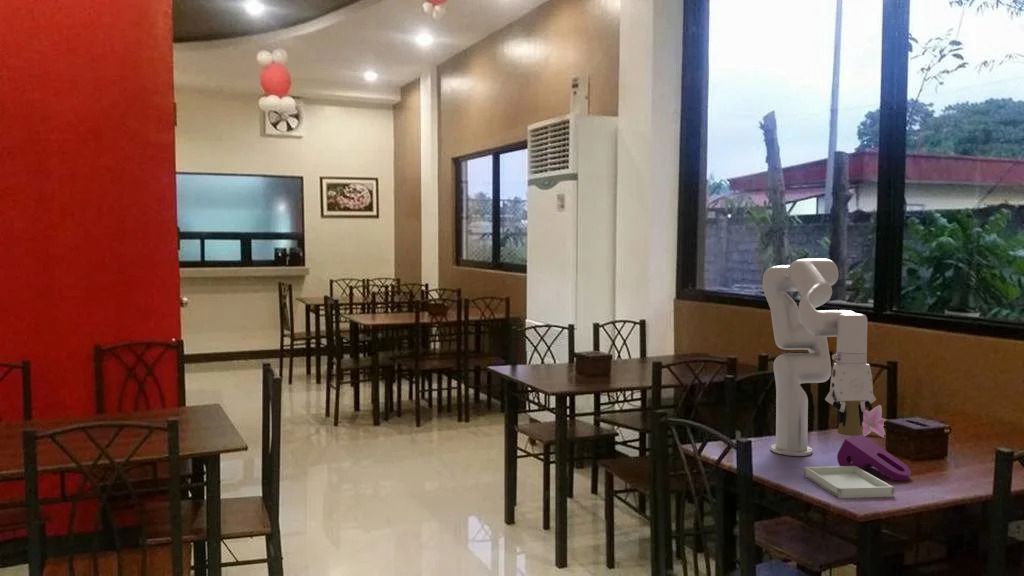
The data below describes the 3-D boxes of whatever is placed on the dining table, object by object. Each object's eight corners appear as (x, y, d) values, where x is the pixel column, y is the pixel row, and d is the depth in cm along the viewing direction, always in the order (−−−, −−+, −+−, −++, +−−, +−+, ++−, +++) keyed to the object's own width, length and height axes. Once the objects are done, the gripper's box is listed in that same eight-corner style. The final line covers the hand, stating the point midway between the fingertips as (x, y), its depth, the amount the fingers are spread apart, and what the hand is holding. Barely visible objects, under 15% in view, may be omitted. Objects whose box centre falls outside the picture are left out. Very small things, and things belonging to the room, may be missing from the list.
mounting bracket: (903, 495, 218) (849, 456, 231) (917, 471, 215) (861, 434, 228) (887, 501, 212) (832, 462, 225) (901, 478, 209) (845, 438, 222)
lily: (844, 435, 269) (850, 415, 264) (857, 418, 276) (862, 398, 271) (879, 451, 262) (886, 430, 257) (891, 432, 269) (897, 412, 264)
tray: (804, 475, 218) (804, 467, 218) (855, 474, 218) (855, 465, 218) (838, 498, 198) (838, 488, 198) (894, 496, 199) (894, 487, 198)
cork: (857, 430, 210) (857, 391, 210) (865, 435, 204) (866, 395, 204) (834, 430, 211) (835, 390, 210) (841, 435, 205) (842, 395, 204)
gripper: (828, 361, 202) (827, 429, 203) (888, 360, 203) (887, 427, 204) (815, 357, 210) (813, 422, 211) (873, 356, 211) (871, 421, 212)
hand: (850, 424), depth 207 cm, fingers closed on cork, 3 cm apart
